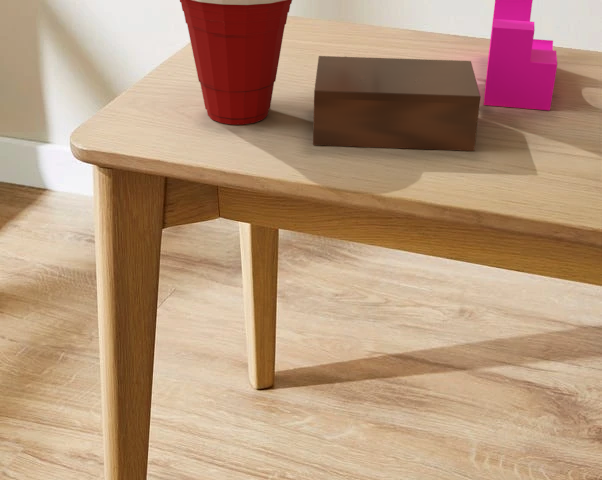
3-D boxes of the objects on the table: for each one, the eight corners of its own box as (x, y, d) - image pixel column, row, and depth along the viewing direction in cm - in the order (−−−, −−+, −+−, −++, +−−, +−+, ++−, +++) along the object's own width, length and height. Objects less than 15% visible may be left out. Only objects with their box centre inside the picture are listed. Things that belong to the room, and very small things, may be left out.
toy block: (549, 110, 93) (562, 32, 89) (483, 104, 94) (492, 27, 90) (547, 59, 105) (558, -11, 101) (488, 55, 106) (497, -15, 102)
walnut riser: (465, 112, 92) (471, 60, 89) (474, 151, 85) (480, 96, 82) (317, 106, 93) (318, 55, 90) (312, 145, 85) (314, 90, 82)
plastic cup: (304, 96, 95) (306, -31, 89) (286, 139, 86) (287, 2, 80) (195, 88, 96) (190, -37, 90) (166, 130, 87) (158, -5, 81)
